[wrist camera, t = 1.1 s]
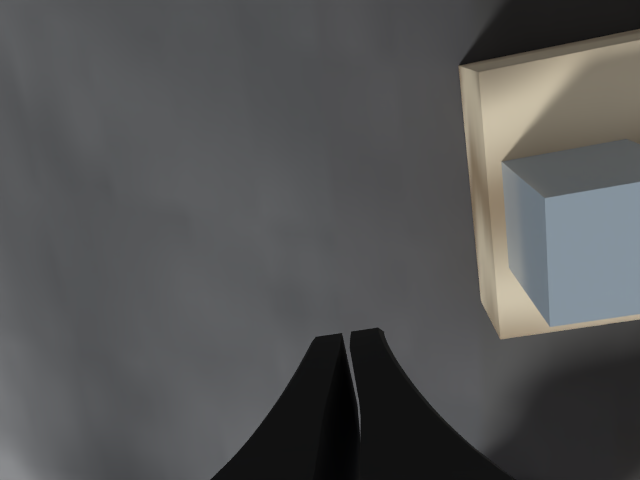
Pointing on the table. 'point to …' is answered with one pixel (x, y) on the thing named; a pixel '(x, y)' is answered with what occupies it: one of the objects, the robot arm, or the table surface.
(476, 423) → the table surface
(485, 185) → the beige piece
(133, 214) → the table surface
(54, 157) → the table surface
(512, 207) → the blue-grey cube
